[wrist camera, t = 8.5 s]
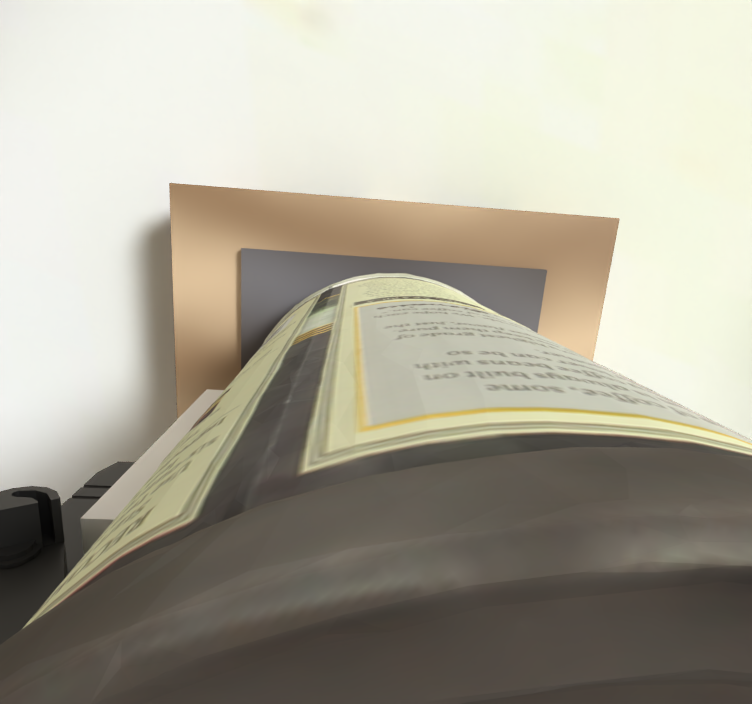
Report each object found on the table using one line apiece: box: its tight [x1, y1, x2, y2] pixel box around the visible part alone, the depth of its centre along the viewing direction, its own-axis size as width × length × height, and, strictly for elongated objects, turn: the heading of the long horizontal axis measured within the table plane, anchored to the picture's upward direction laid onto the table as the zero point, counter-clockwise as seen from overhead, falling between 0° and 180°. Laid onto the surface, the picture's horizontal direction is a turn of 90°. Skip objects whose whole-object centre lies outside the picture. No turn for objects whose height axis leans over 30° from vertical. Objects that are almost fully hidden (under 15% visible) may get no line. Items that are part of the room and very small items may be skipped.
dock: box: [169, 183, 619, 419], centre depth 19 cm, size 15×16×3 cm
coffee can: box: [0, 273, 752, 704], centre depth 10 cm, size 10×10×14 cm
